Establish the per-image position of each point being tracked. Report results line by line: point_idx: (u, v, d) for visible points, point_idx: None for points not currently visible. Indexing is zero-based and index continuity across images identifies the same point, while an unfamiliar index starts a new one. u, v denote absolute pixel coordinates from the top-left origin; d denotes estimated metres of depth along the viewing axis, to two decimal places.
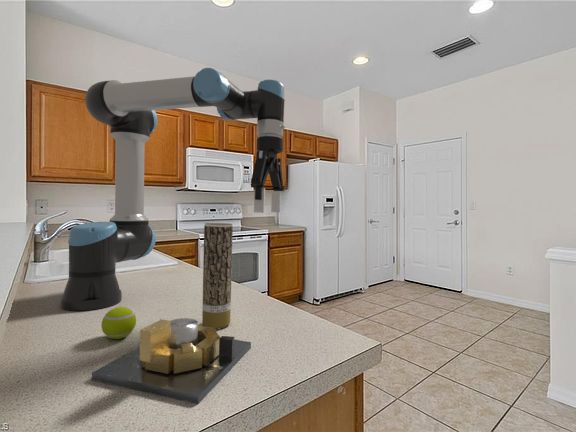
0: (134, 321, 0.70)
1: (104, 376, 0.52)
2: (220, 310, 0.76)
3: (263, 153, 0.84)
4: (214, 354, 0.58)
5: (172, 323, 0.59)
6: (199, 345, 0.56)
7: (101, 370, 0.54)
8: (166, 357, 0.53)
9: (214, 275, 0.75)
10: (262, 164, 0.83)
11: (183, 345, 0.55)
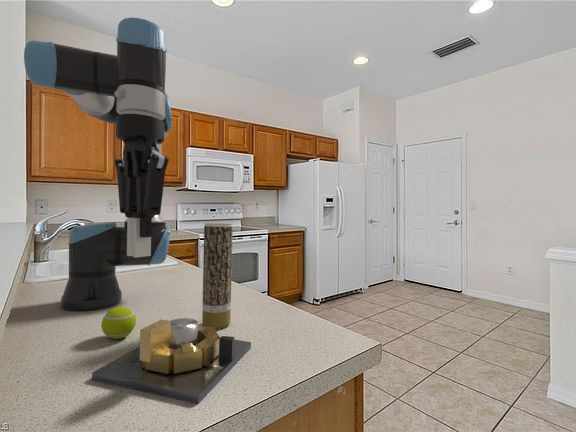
0: (134, 321, 0.70)
1: (104, 376, 0.52)
2: (220, 310, 0.76)
3: None
4: (214, 354, 0.58)
5: (172, 323, 0.59)
6: (199, 345, 0.56)
7: (101, 370, 0.54)
8: (166, 357, 0.53)
9: (214, 275, 0.75)
10: None
11: (183, 345, 0.55)
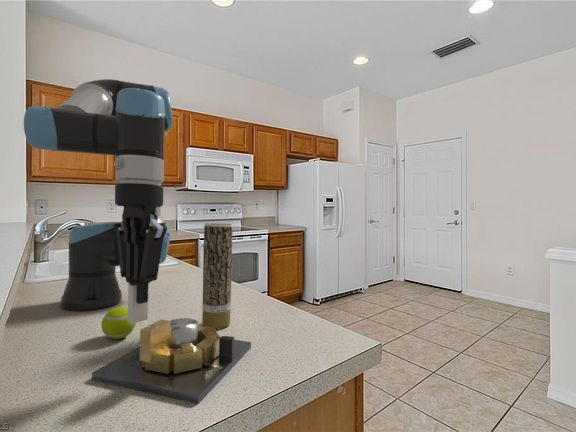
0: None
1: (104, 376, 0.52)
2: (220, 310, 0.76)
3: None
4: (214, 354, 0.58)
5: (172, 323, 0.59)
6: (199, 345, 0.56)
7: (101, 370, 0.54)
8: (166, 357, 0.53)
9: (214, 275, 0.75)
10: None
11: (183, 345, 0.55)
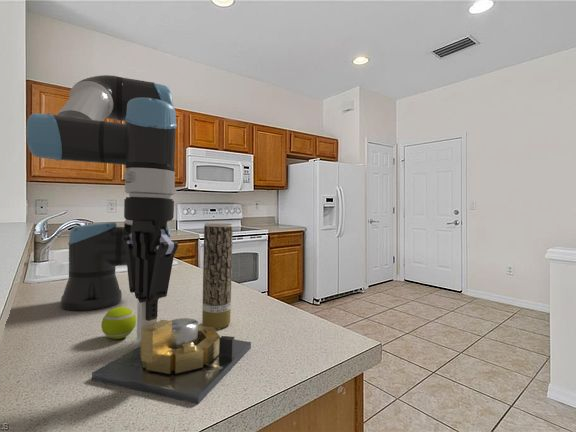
0: (134, 321, 0.70)
1: (104, 376, 0.52)
2: (220, 310, 0.76)
3: None
4: (214, 354, 0.58)
5: (172, 323, 0.59)
6: (200, 345, 0.57)
7: (101, 370, 0.54)
8: (168, 357, 0.53)
9: (214, 275, 0.75)
10: None
11: (184, 345, 0.55)
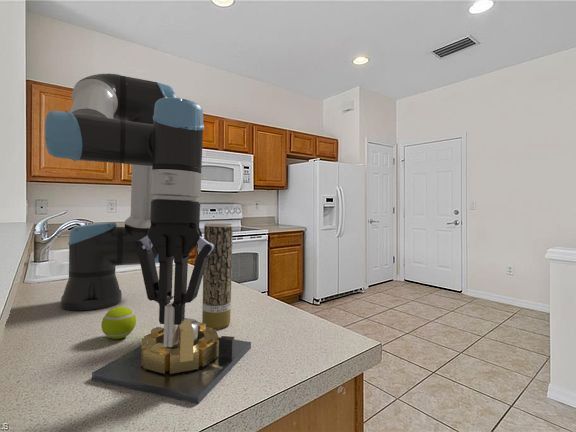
0: (134, 321, 0.70)
1: (104, 376, 0.52)
2: (220, 310, 0.76)
3: None
4: None
5: None
6: (209, 337, 0.60)
7: (101, 370, 0.54)
8: (196, 353, 0.54)
9: (214, 275, 0.75)
10: None
11: (202, 340, 0.57)
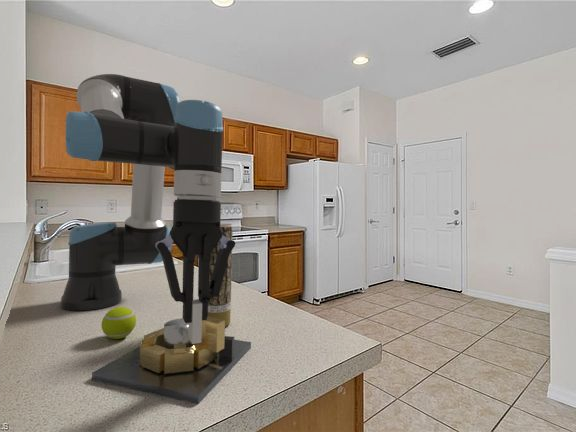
0: (134, 321, 0.70)
1: (104, 376, 0.52)
2: (220, 310, 0.76)
3: (158, 249, 0.49)
4: None
5: (172, 323, 0.59)
6: None
7: (101, 370, 0.54)
8: None
9: None
10: (166, 268, 0.50)
11: None
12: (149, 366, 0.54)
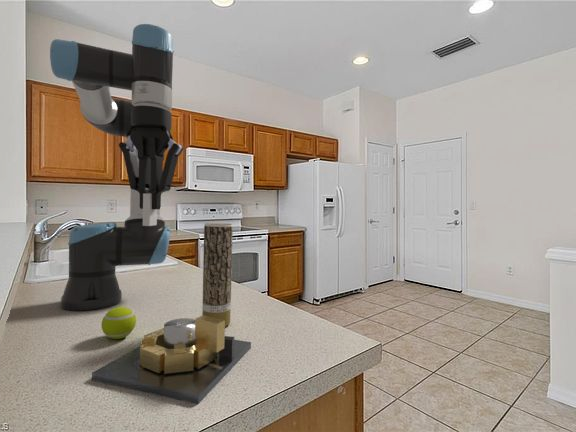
0: (134, 321, 0.70)
1: (104, 376, 0.52)
2: (220, 310, 0.76)
3: None
4: None
5: (172, 323, 0.59)
6: None
7: (101, 370, 0.54)
8: None
9: (214, 275, 0.75)
10: None
11: None
12: (149, 366, 0.54)
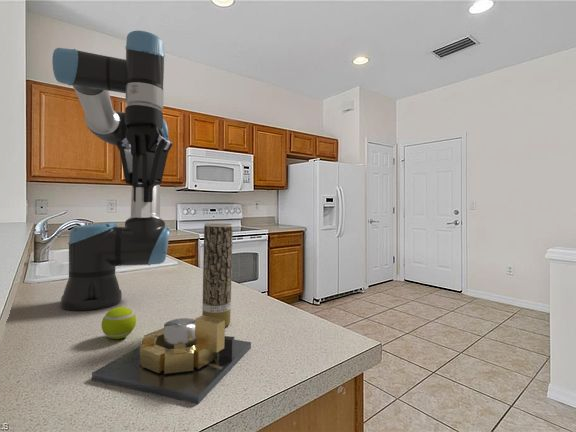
0: (134, 321, 0.70)
1: (104, 376, 0.52)
2: (220, 310, 0.76)
3: None
4: None
5: (172, 323, 0.59)
6: None
7: (101, 370, 0.54)
8: None
9: (214, 275, 0.75)
10: None
11: None
12: (149, 366, 0.54)
